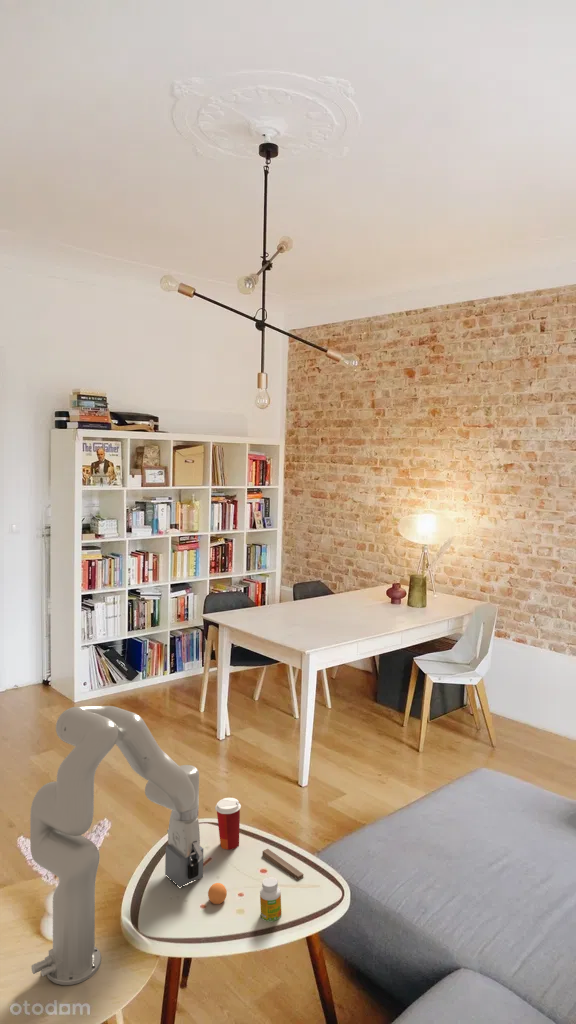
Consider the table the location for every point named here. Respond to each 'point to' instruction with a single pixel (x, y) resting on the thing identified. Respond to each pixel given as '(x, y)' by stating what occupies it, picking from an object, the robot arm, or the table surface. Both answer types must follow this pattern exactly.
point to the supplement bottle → (270, 900)
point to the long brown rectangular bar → (282, 864)
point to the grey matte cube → (180, 866)
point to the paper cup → (228, 822)
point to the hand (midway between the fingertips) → (184, 869)
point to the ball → (217, 893)
